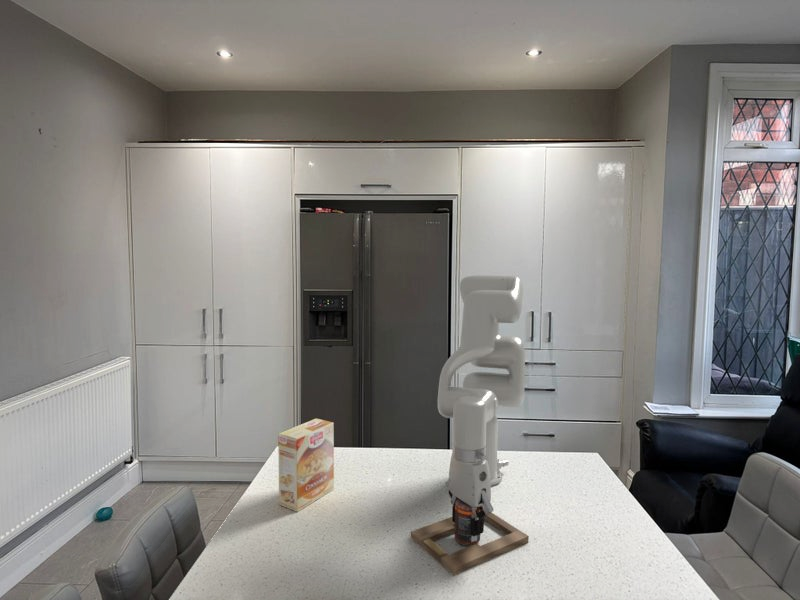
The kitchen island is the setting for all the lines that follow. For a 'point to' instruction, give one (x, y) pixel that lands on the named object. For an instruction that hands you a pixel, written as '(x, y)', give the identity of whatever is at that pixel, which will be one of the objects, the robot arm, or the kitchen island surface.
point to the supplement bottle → (464, 523)
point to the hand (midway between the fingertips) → (467, 526)
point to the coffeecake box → (306, 463)
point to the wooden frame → (472, 553)
